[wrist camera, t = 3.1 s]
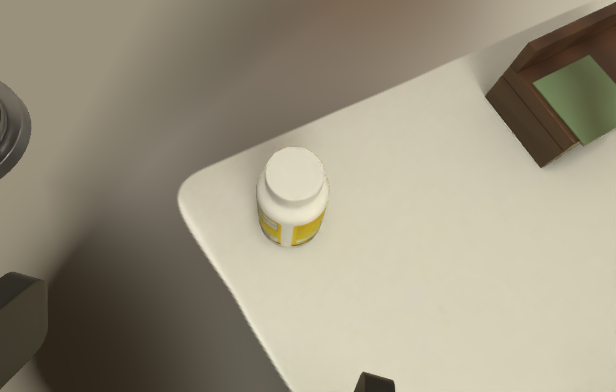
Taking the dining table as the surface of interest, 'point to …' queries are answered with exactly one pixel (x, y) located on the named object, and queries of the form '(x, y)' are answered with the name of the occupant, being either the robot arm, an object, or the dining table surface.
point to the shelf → (562, 87)
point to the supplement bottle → (292, 196)
